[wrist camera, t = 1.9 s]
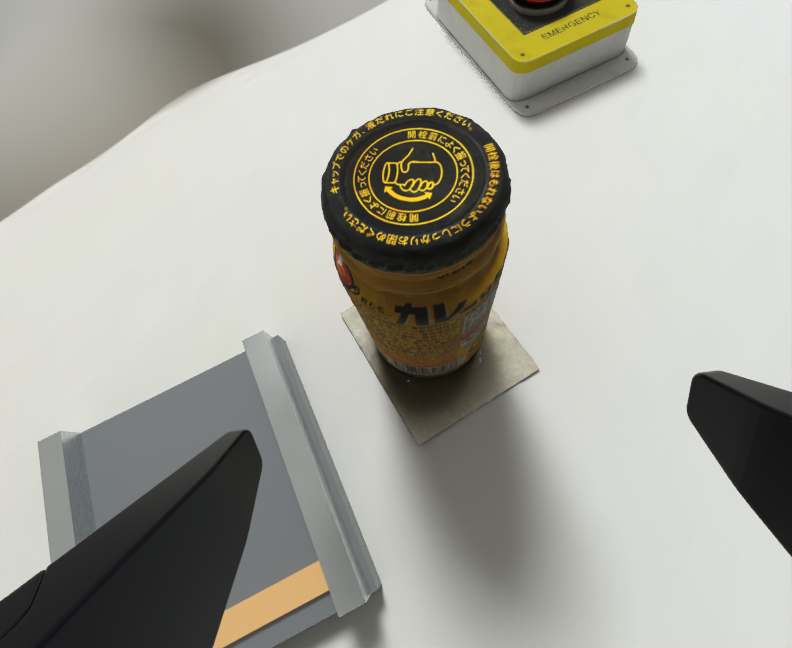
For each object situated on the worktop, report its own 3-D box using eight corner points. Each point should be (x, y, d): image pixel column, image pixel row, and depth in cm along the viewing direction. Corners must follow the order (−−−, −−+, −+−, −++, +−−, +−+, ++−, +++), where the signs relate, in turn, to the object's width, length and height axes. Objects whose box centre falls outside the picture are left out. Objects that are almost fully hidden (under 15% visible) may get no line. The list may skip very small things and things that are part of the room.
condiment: (447, 251, 23) (450, 46, 12) (538, 369, 20) (660, 244, 9) (341, 315, 22) (236, 161, 11) (419, 446, 19) (383, 418, 8)
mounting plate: (381, 583, 17) (376, 591, 16) (112, 729, 17) (88, 748, 15) (285, 340, 22) (276, 334, 21) (71, 447, 21) (51, 446, 20)
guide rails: (371, 593, 16) (365, 602, 15) (99, 741, 16) (73, 762, 15) (272, 337, 21) (263, 330, 20) (60, 443, 20) (37, 442, 19)
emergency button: (535, 63, 22) (417, -61, 27) (520, 127, 26) (420, 8, 31) (675, -2, 22) (532, -111, 28) (639, 71, 26) (521, -37, 32)
